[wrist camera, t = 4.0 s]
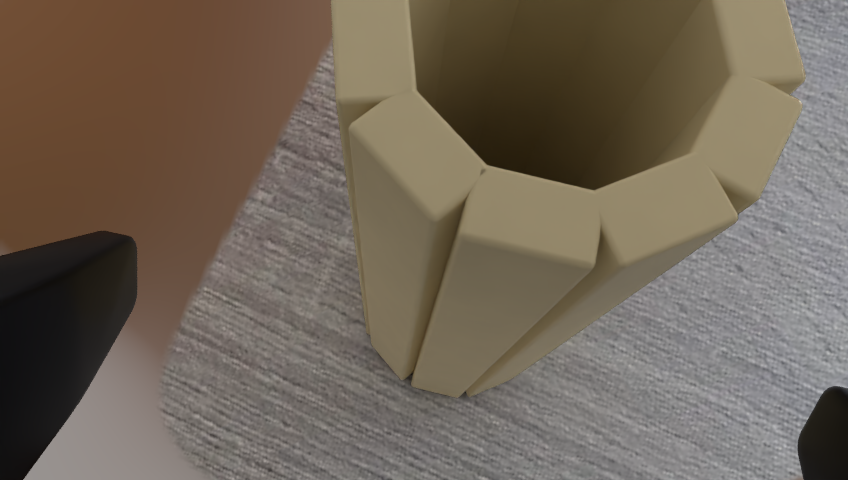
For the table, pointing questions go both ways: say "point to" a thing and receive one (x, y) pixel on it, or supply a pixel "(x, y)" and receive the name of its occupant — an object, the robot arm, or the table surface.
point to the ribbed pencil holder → (544, 162)
